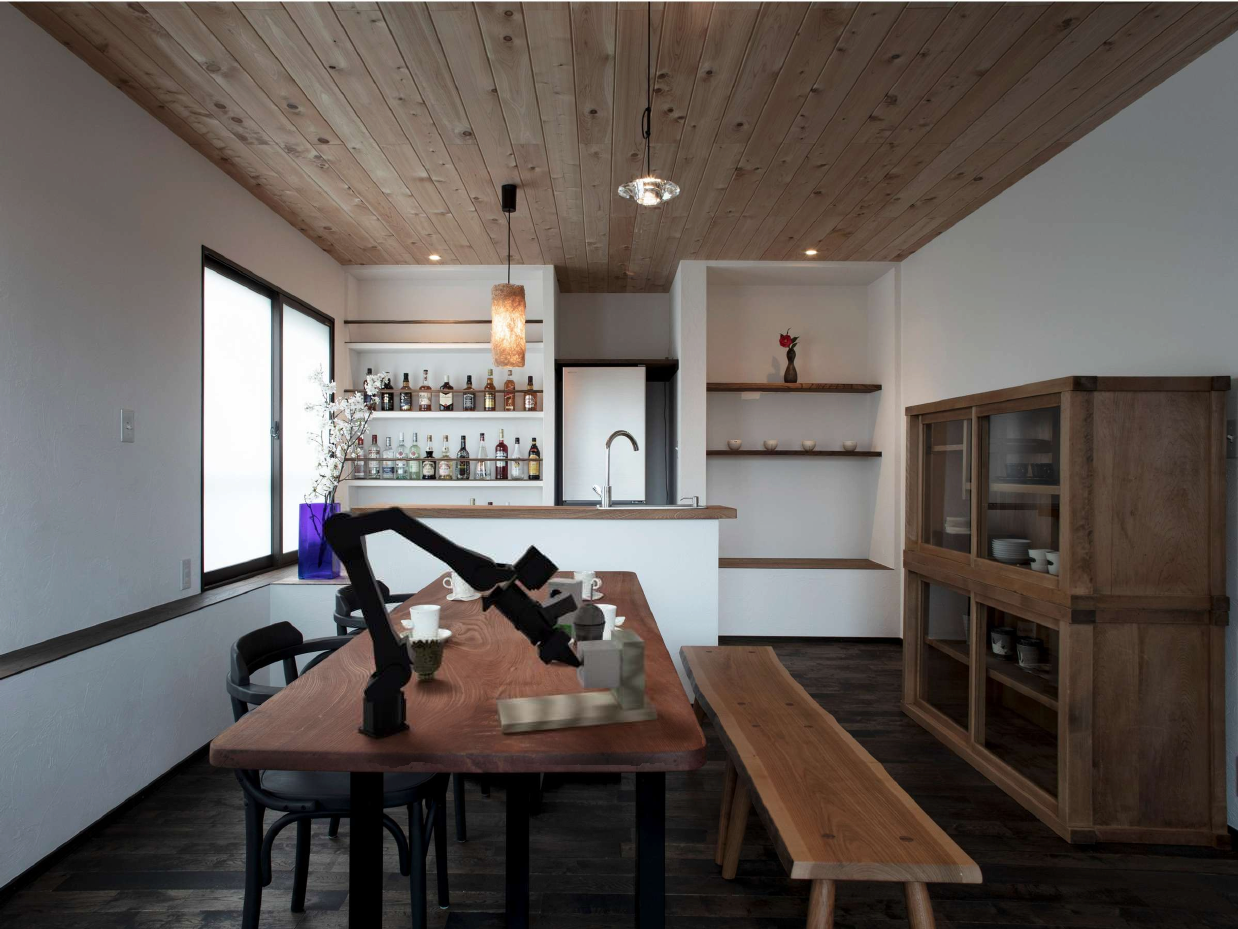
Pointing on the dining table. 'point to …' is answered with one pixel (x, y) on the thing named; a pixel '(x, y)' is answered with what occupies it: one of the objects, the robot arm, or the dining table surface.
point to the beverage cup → (589, 622)
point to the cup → (427, 658)
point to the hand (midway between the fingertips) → (579, 665)
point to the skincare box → (576, 592)
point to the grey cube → (599, 664)
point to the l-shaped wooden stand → (587, 698)
